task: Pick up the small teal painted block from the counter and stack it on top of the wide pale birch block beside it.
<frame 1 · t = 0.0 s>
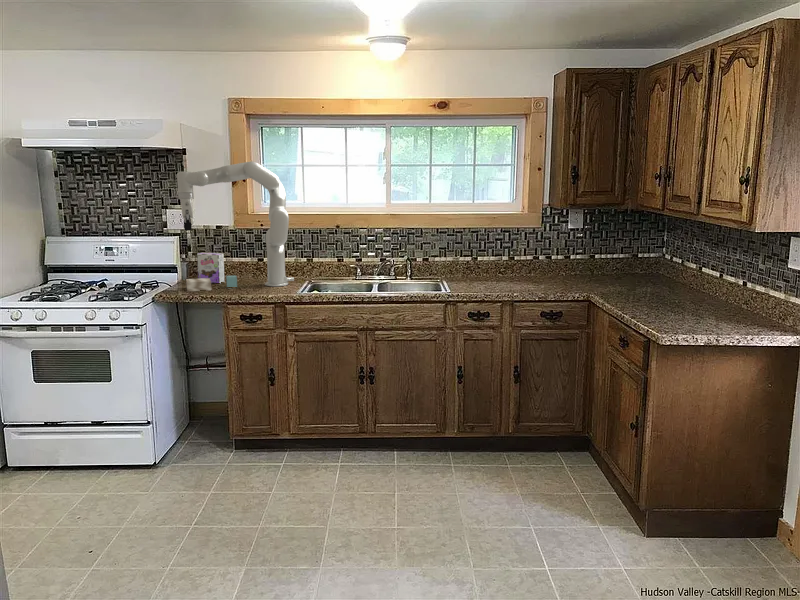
hand: (187, 229, 337), 31 cm above the counter, tool pointing down, fingers open, 9 cm apart
teal block: (231, 287, 350), on the counter
candy box: (211, 282, 365), on the counter
birch block: (198, 289, 344), on the counter
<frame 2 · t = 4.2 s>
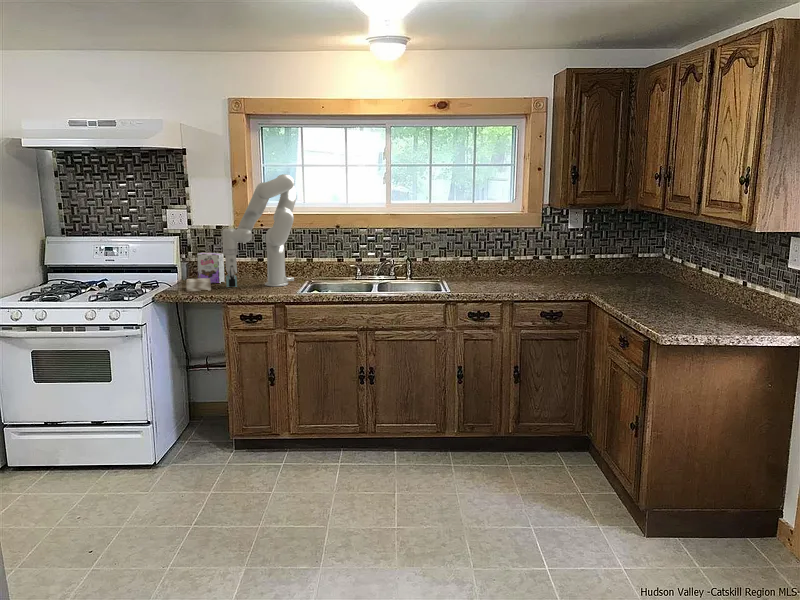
hand: (231, 285, 350), 1 cm above the counter, tool pointing down, fingers closed on teal block, 5 cm apart
teal block: (231, 287, 350), on the counter, touching gripper
everything else where it was.
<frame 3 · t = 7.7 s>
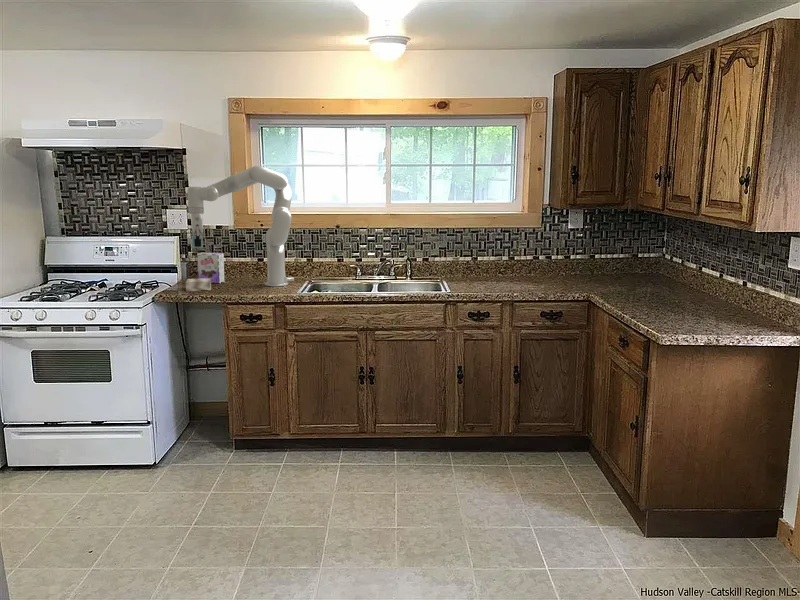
hand: (197, 245, 340), 23 cm above the counter, tool pointing down, fingers closed on teal block, 5 cm apart
teal block: (197, 247, 340), point 22 cm above the counter, touching gripper
everything else where it was.
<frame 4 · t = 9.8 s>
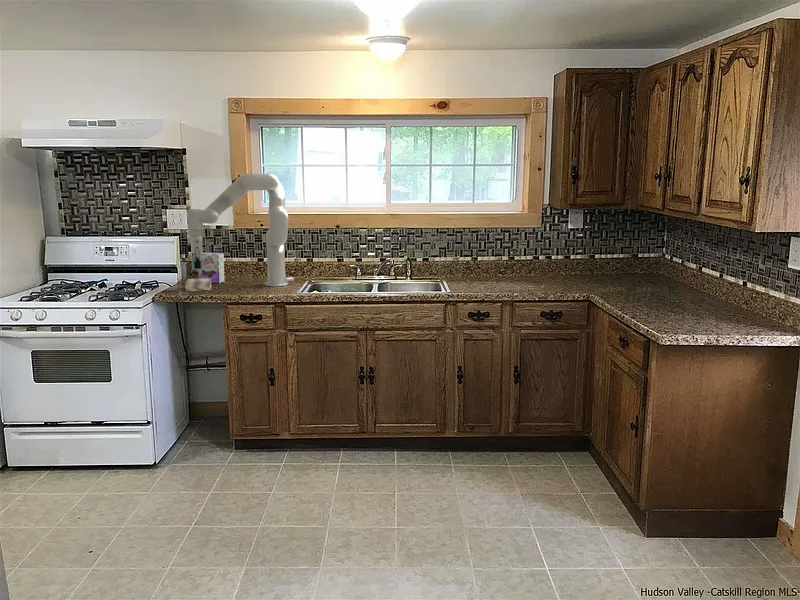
hand: (197, 267, 342), 11 cm above the counter, tool pointing down, fingers closed on teal block, 5 cm apart
teal block: (197, 269, 342), point 10 cm above the counter, touching gripper
everything else where it was.
when the fingers open (7 cm above the counter, at t = 11.5 s): teal block drops 2 cm, resting on birch block.
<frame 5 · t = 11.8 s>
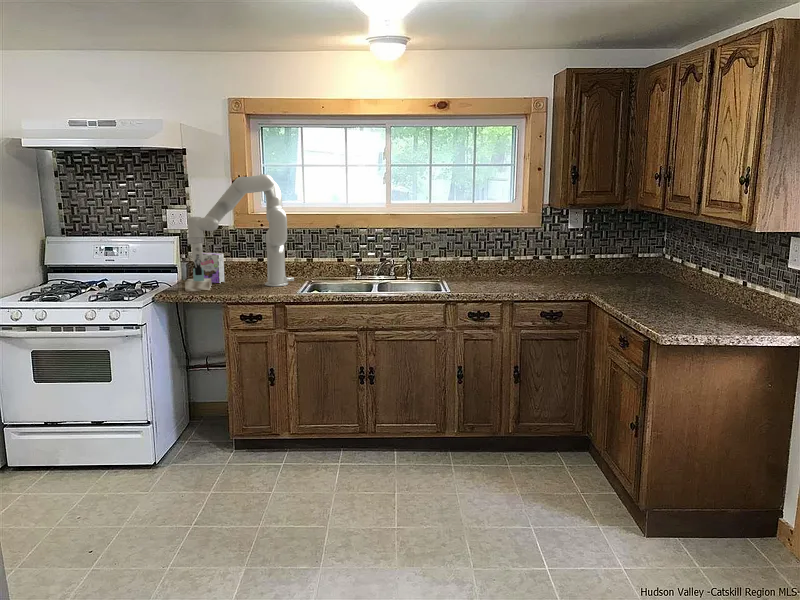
hand: (198, 273, 343), 8 cm above the counter, tool pointing down, fingers open, 8 cm apart
teal block: (198, 280, 343), point 5 cm above the counter, touching birch block
birch block: (198, 289, 344), on the counter, touching teal block
everything else where it was.
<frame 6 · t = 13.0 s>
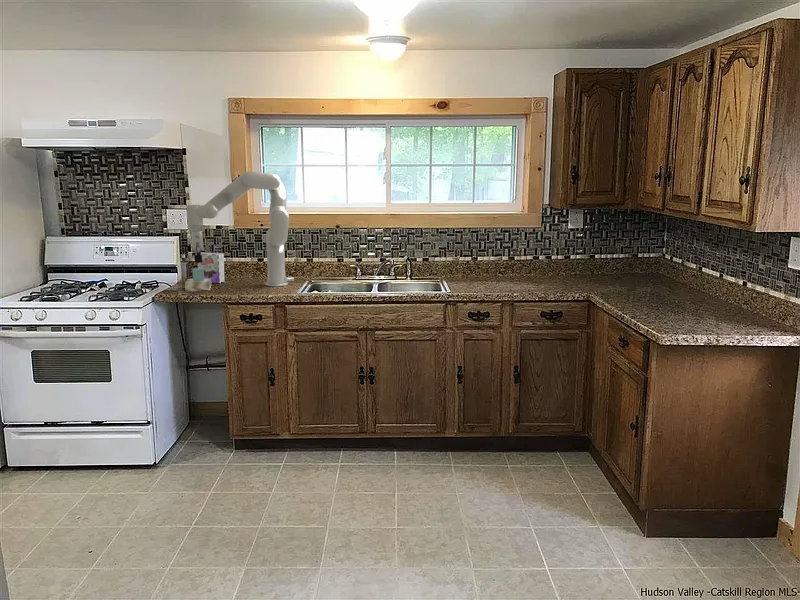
hand: (198, 261, 342), 15 cm above the counter, tool pointing down, fingers open, 9 cm apart
nothing on the counter moved.
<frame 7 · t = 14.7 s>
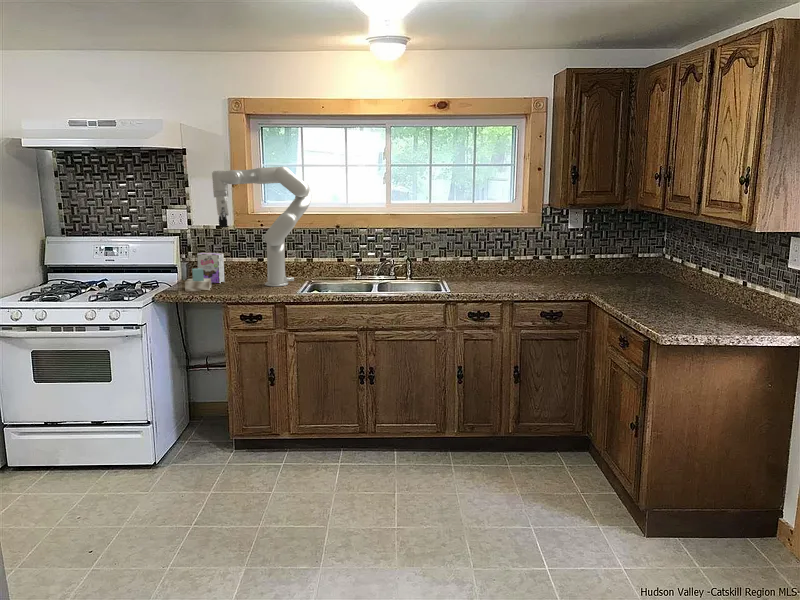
hand: (223, 226, 350), 32 cm above the counter, tool pointing down, fingers open, 9 cm apart
teal block: (198, 280, 343), point 5 cm above the counter
birch block: (198, 289, 344), on the counter
everything else where it was.
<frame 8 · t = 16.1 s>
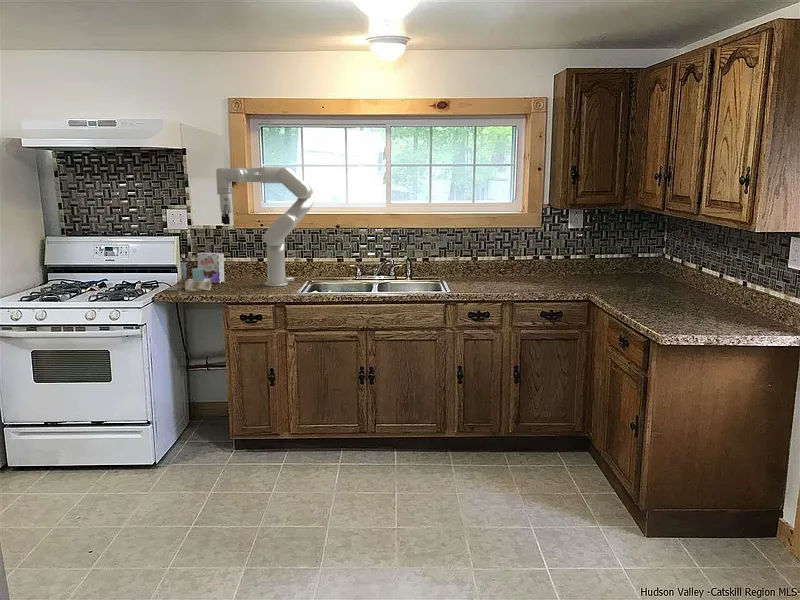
hand: (225, 223, 351), 33 cm above the counter, tool pointing down, fingers open, 9 cm apart
nothing on the counter moved.
at the end: teal block inside the target area on the birch block (0.2 cm from its centre), point 5.0 cm above the birch block's base; teal block tilted 0°; teal block touching birch block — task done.
